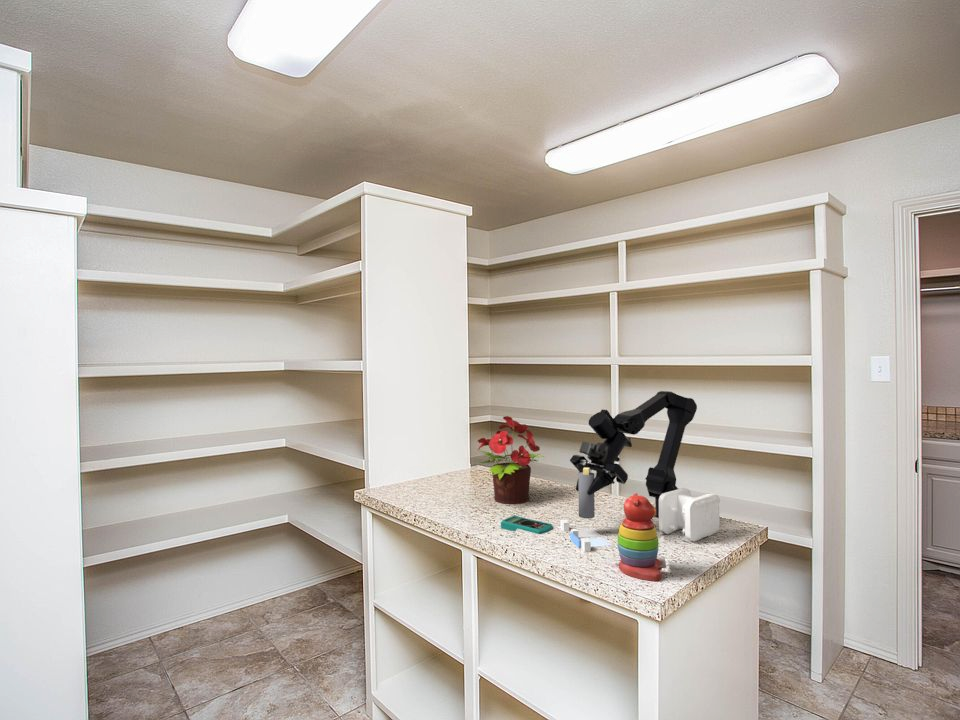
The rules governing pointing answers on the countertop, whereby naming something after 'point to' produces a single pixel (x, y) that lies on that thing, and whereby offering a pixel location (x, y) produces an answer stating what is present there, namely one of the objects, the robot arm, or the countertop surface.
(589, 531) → the board
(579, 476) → the grey cylinder
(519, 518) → the digital multimeter
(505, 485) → the potted plant
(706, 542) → the countertop surface
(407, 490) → the countertop surface
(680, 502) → the cable organizer
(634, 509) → the stacking bear
